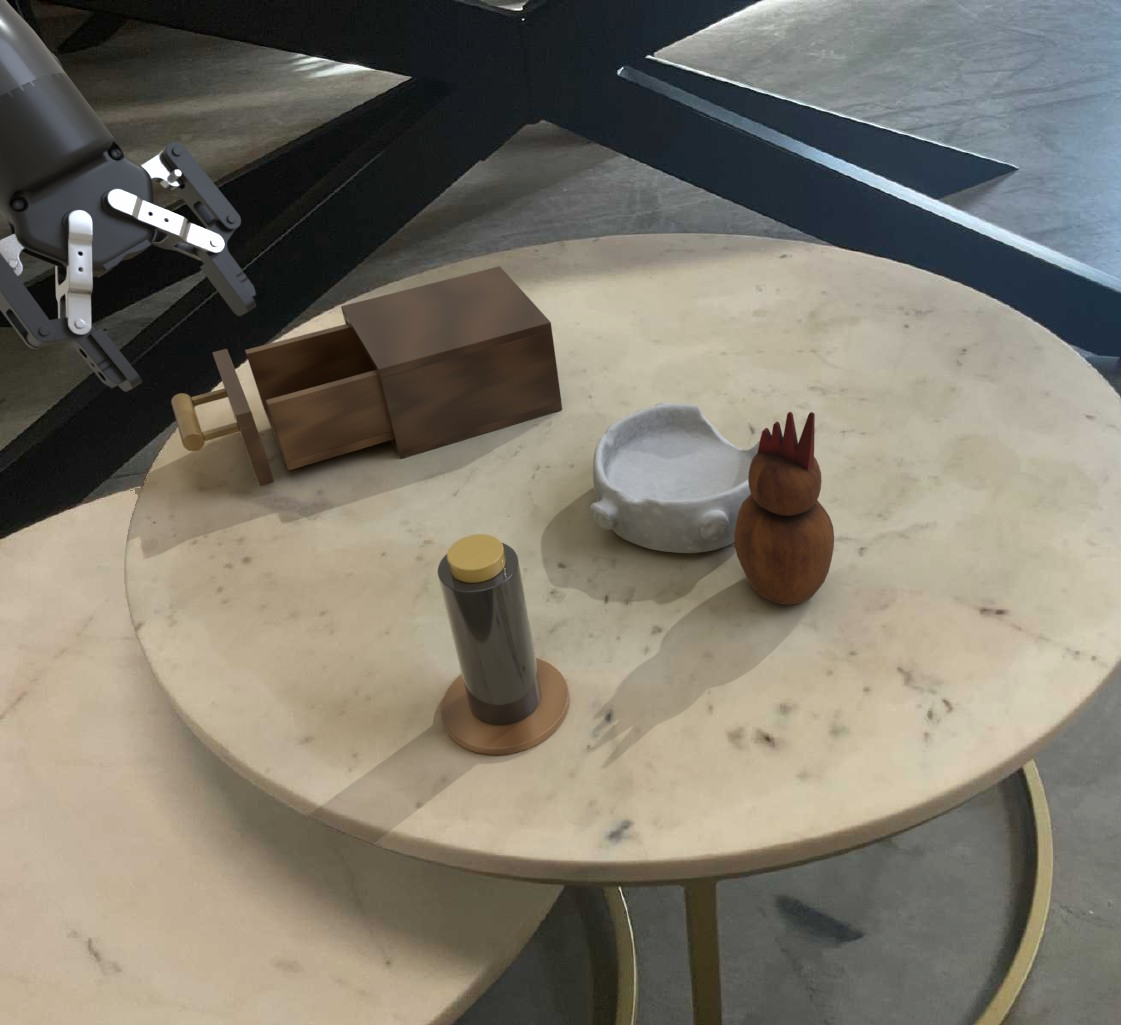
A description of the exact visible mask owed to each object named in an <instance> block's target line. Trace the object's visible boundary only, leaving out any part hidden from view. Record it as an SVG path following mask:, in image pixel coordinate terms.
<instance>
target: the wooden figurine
mask: <svg viewBox="0 0 1121 1025" xmlns="http://www.w3.org/2000/svg"><path fill="white" fill-rule="evenodd" d="M815 416H816V414H815V413H814V412H813V411H810V412H809V413H808V415H807V418H806V421H805V423H804V426H803V429H802V432H801V434H800V437H799V440H798V435H797V429H796V423H795V418H794V414H793V412H792V411H789V412H787V414H786V419H785V425H784V431H782V427H781V423H780V422H779V421H775V422H774V423H773V424H772V429H771V430H772V431H770V429H769V428H768V427H765V428H764V429H763V430H762V431H761V435H760V438H759V441H760V443H759V448H758V453H757V454H756V455H755V456H754V457H753V459H752V462H751V464H750V469H749V476H748V483H749V489H750V492H751V494H750V495H749V496H748V497H747V498H746V499H745V500H744V501H743V503H742V505H741V507H740V510H739V512H738V517H737V522H736V528H735V534H734V539H735V542H734V550H735V552H736V555H737V556H736V557H737V559H738V562H739V563H740V565H741V568H742V570H743V572H744V574H745V576H746V578H747V580H748V582H749V585H750V587H751V588H752V589H753V590H754V591H755V592H756V593H757V594H758V595H759V596H761V597H763V598H764V599H765V600H768V601H770V602H773V603H775V604H778V605H787V606H790V605H796V604H800V603H803V602H805V601H808V600H810V599H811V598H813V596H814V595H815V594H816V593H817V591H818V590H820V588H821V587H822V586H823V584H824V583H825V582H826V579H827V577H828V574H829V572H830V567H831V564H832V559H833V555H834V554H833V553H834V546H835V530H834V525H833V522H832V519H831V516H830V515H829V513H828V512H827V510H826V509H825V506H823V505H822V503H821V502H820V501H819V500H818V499H819V497H820V493H821V489H822V472H821V468H820V464H819V462H818V460H817V458H816V457H815V430H816V429H815V427H816V426H815V423H816V422H815V421H816V420H815V419H816V417H815Z"/></svg>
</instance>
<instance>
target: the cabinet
mask: <svg viewBox="0 0 1121 1025" xmlns="http://www.w3.org/2000/svg"><path fill="white" fill-rule="evenodd" d="M340 308H341V312H342V315H343V320H344V324H348V323H349V325H350V327H351V328H352V330H353V332H354V334H355V335H356V337H357V339H358V340H359V342H360V344H361V345H362V347H363V349H364V351H365V352H366V354H367V356H368V357H369V359H370V361H371V362H372V364H373V366H374V367H375V369H376V371H377V373H378V376H379V380H380V384H381V388H382V392H383V396H384V400H385V404H386V408H387V412H388V416H389V420H390V424H391V429H392V433H393V437H394V439H393V440H389V441H390V442H391V444H392V446H393V448H394V450H395V452H396V454H397V455H398V458H399V459H405V458H408V457H411V456H415V455H417V454H421V453H424V452H428V451H431V450H435V449H438V448H441V447H444V446H447V445H451V444H454V443H458V442H461V441H463V440H467V439H470V438H474V437H477V436H480V435H483V434H487V433H490V432H494V431H497V430H500V429H503V428H507V427H510V426H513V425H516V424H520V423H523V422H526V421H530V420H533V419H537V418H539V417H543V416H546V415H549V414H553V413H557V412H560V411H563V404H562V395H561V388H560V387H561V386H560V380H559V372H558V367H557V366H558V365H557V358H556V357H557V356H556V350H555V344H554V335H553V328H552V322H551V320H550V319H549V318H547V316H546V315H545V314H544V313H543V312H542V311H541V310H540V309H539V308H538V306H537V305H536V304H535V303H534V302H533V301H532V300H531V299H530V297H529V296H528V295H527V294H526V293H525V292H524V291H523V290H522V289H521V288H520V286H519V285H517V283H516V282H515V281H514V280H513V279H512V278H511V277H510V275H509V274H508V273H507V272H506V271H505V270H504V269H503V268H502V266H500V265H499V266H494V267H492V268H487V269H483V270H479V271H476V272H471V273H468V274H463V275H460V276H454V277H451V278H447V279H443V280H440V281H435V282H431V283H428V284H424V285H420V286H416V287H412V288H408V289H404V290H399V291H395V292H392V293H388V294H384V295H380V296H376V297H373V298H367V299H364V300H359V301H356V302H352V303H349V304H344V305H341V306H340Z"/></svg>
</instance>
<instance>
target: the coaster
mask: <svg viewBox="0 0 1121 1025" xmlns="http://www.w3.org/2000/svg"><path fill="white" fill-rule="evenodd" d="M536 661H537V667H538V673H539V678H540V684H541V689H542V698H541V701H540V703H539V705H538V707H537V708H536V710H535V711H534V712H533V713H532V714H531V715H529V716H528V717H526V718H525V719H523V720H521V721H519V722H516V723H513V724H509V725H491V724H487V723H484V722H482V721H480V720H478V719H477V718H476V717H475V716H474V715H473V714H472V712H471V710H470V708H469V704H468V700H467V695H466V691H465V687H464V683H463V678H462V674H461V673H460V675H458V676H457V677H456V678H455V679H454V680H453V681H452V682H451V684H449V686H448V688H447V690H446V691H445V693H444V696H443V699H442V703H441V710H440V711H441V712H440V713H441V719H442V723H443V725H444V729H445V731H446V733H447V734H448V736H449V737H450V738H451V739H452V741H454V742H455V743H456V744H458V745H459V746H460V747H462V748H463V749H466V750H468V751H470V752H473V753H476V754H482V755H488V756H502V755H511V754H515V753H519V752H522V751H526V750H528V749H531V748H533V747H535V746H537V745H539V744H541V743H542V742H544V741H545V740H547V739H548V738H549V737H551V736H552V735H553V734H554V733H555V732H557V730H558V728H559V727H560V726H561V725H562V723H563V721H564V720H565V719H566V716H567V714H568V711H569V707H570V699H571V698H570V691H569V687H568V683H567V681H566V678H565V677H564V676H563V674H562V673H561V672H560V671H559V670H558V669H557V668H556V667H555V666H554V665H552V664H551V663H550V662H547V661H546V660H544V659H541V658H538V657H536Z"/></svg>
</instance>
